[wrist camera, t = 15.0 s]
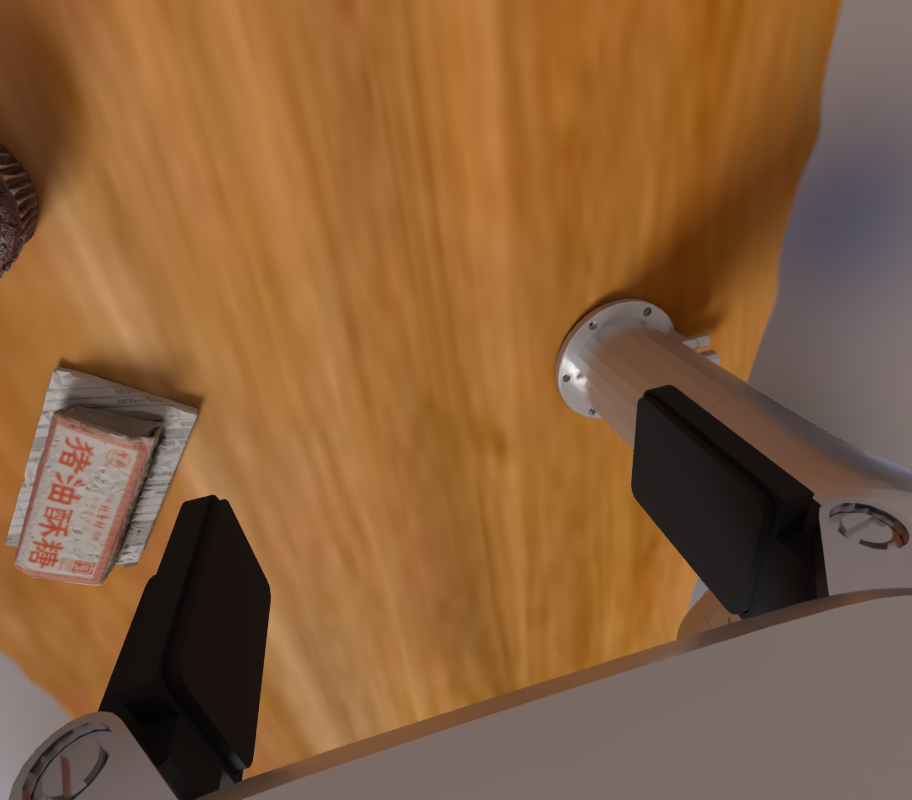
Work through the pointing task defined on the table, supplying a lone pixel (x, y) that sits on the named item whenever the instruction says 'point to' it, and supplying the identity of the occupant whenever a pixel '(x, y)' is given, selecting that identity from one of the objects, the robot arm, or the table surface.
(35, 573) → the packaged product
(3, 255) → the cupcake
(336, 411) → the table surface
